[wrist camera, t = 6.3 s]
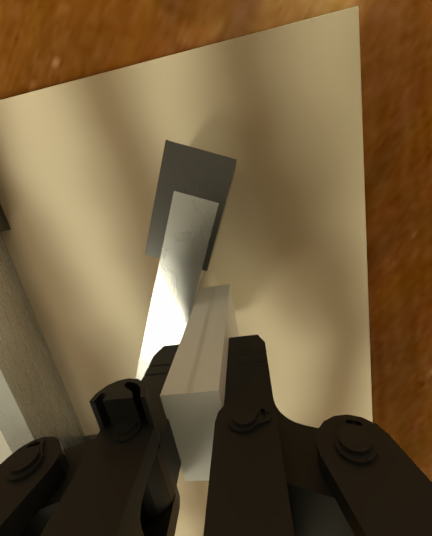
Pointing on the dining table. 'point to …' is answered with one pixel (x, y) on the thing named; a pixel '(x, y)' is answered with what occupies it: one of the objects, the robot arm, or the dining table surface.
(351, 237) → the board
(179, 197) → the bar
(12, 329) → the tongs base
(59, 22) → the dining table surface
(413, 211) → the dining table surface
